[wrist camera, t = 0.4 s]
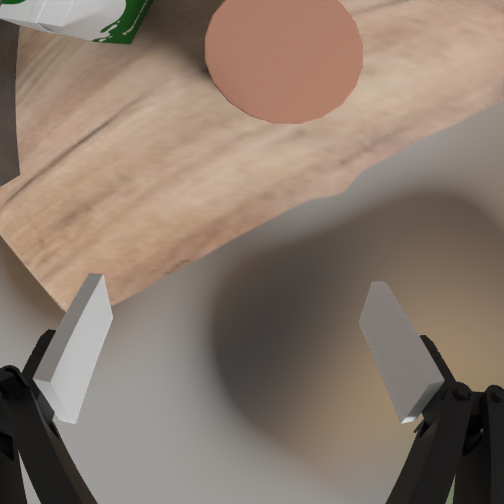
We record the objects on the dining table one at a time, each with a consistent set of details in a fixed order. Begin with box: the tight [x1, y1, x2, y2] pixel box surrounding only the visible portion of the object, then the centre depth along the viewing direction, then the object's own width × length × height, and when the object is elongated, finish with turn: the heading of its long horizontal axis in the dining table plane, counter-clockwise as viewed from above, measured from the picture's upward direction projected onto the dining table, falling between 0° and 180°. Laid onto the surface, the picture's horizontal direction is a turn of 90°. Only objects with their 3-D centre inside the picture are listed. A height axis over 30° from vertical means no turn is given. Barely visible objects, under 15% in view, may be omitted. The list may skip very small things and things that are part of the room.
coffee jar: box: [204, 0, 363, 124], centre depth 25 cm, size 11×11×18 cm
